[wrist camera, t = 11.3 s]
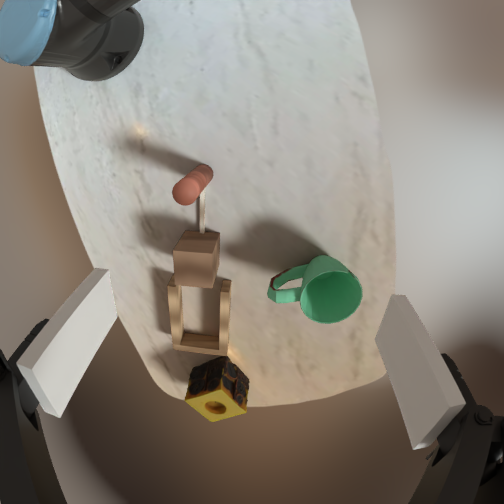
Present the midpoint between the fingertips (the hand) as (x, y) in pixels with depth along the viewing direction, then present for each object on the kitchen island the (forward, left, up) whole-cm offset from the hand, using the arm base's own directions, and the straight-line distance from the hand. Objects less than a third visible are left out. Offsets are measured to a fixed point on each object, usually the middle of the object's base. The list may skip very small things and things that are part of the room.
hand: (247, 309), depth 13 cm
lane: (+28, -9, -37) cm, 47 cm away
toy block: (+47, -5, -37) cm, 60 cm away
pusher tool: (+9, -9, -37) cm, 39 cm away
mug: (+17, +10, -37) cm, 42 cm away
